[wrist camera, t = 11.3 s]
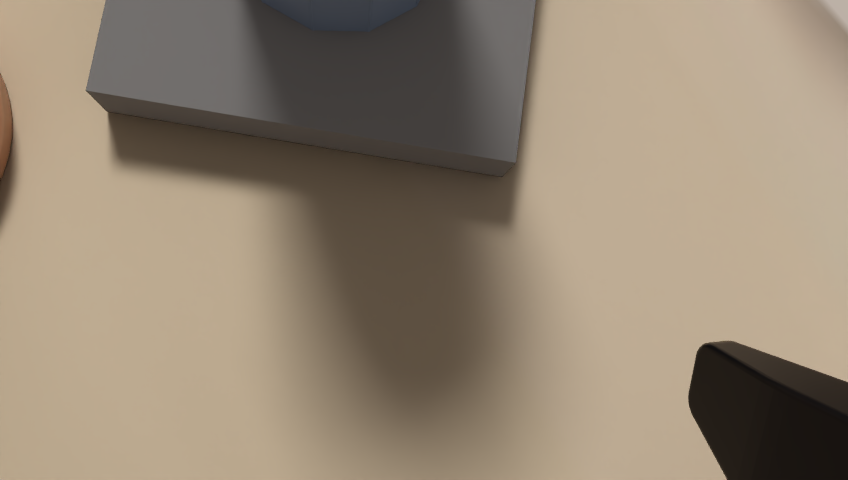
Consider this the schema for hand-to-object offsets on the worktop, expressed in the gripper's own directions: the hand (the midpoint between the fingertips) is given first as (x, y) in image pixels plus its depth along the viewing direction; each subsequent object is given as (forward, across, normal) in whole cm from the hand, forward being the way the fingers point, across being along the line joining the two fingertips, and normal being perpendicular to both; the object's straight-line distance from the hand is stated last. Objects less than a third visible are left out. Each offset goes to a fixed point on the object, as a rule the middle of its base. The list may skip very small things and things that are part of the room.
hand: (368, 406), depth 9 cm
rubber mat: (+13, -1, -5) cm, 14 cm away
